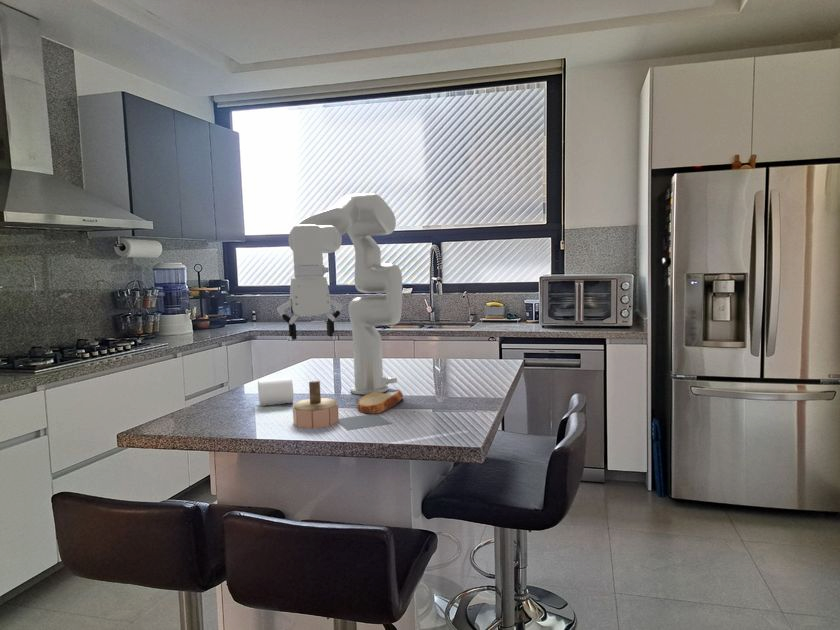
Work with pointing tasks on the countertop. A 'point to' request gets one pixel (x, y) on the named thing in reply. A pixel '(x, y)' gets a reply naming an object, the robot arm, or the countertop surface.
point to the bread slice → (378, 402)
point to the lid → (315, 400)
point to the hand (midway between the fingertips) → (312, 337)
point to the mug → (275, 391)
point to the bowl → (315, 417)
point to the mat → (363, 421)
